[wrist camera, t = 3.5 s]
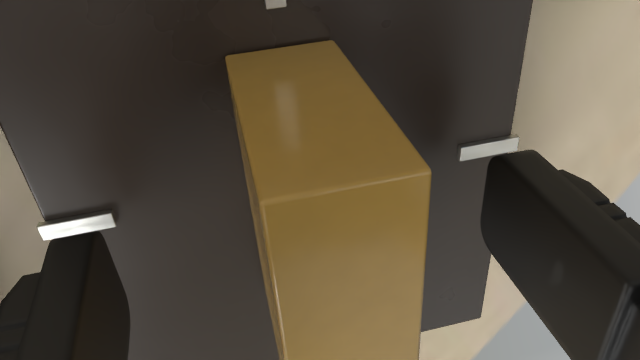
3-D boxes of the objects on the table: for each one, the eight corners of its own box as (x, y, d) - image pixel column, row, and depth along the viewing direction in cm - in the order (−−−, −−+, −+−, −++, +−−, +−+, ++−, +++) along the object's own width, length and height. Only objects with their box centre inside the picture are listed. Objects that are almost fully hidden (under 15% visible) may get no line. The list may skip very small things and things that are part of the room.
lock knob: (223, 54, 9) (261, 216, 5) (333, 38, 10) (442, 180, 6) (265, 292, 13) (307, 494, 9) (345, 274, 13) (419, 463, 9)
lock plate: (-49, -134, 9) (-131, -118, 7) (481, -179, 11) (575, -180, 8) (131, 317, 16) (124, 409, 14) (442, 250, 18) (486, 322, 15)
